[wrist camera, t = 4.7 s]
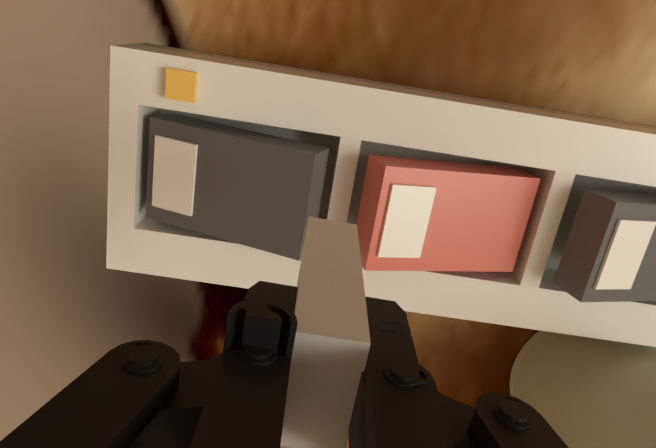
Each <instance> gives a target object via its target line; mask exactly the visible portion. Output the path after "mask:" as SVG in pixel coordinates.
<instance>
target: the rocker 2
mask: <svg viewBox="0 0 656 448" xmlns="http://www.w3.org/2000/svg"><path fill="white" fill-rule="evenodd" d="M553 283H554V284H555V285H557V286H558V287H559V288H561V289H562V290H564V291H565V292H567V293H568V294H570V295H571V296H572V297H574V298H575V299H577V300H578V301H580V302H626V301H656V194H651V193H638V192H624V191H611V190H598V189H585V188H584V191H583V194H582V197H581V200H580V203H579V206H578V209H577V212H576V215H575V218H574V221H573V224H572V227H571V230H570V233H569V236H568V239H567V242H566V245H565V248H564V251H563V254H562V257H561V260H560V263H559V266H558V269H557V272H556V275H555V278H554V281H553Z"/></svg>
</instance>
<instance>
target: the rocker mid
mask: <svg viewBox="0 0 656 448" xmlns="http://www.w3.org/2000/svg"><path fill="white" fill-rule="evenodd" d="M539 183H540V178H538V177H536V176H534V175H532V174H529V173H527V172H525V171H523V170H520V169H518V168H516V167H505V166H493V165H482V164H471V163H459V162H448V161H437V160H425V159H414V158H403V157H391V156H380V155H369V158H368V164H367V169H366V174H365V180H364V185H363V190H362V196H361V201H360V206H359V212H358V217H357V222H356V225H357V229H358V238H359V247H360V255H361V264H362V267H363V269H364V270H365V271H482V272H513V268H514V265H515V262H516V258H517V255H518V252H519V249H520V245H521V242H522V239H523V235H524V232H525V229H526V225H527V222H528V219H529V216H530V212H531V209H532V206H533V202H534V199H535V196H536V193H537V189H538V186H539Z"/></svg>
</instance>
